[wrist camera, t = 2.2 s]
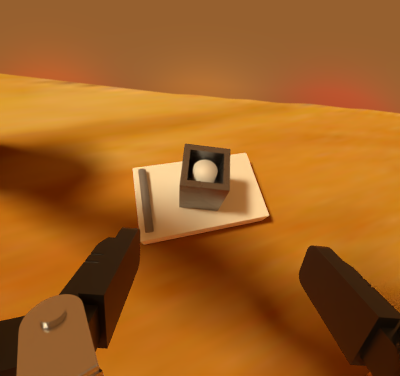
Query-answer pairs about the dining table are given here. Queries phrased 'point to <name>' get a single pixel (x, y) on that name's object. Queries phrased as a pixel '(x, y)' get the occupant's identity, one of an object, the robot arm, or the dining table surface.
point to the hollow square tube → (204, 191)
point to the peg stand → (187, 217)
